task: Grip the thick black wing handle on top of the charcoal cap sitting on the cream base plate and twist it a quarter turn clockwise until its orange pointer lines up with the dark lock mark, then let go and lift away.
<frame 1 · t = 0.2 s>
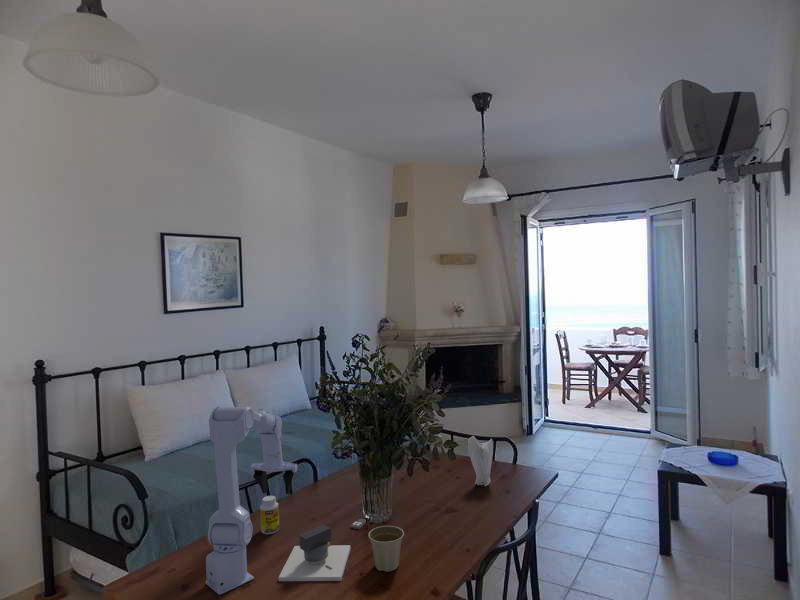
hand: (276, 492, 162), 10 cm above the table, tool pointing down, fingers open, 7 cm apart
flower pot: (387, 566, 135), on the table
supplement bottle: (270, 531, 158), on the table
bayonet cap: (316, 543, 138), point 6 cm above the table, hinge at 0.0°
post base: (316, 564, 138), on the table
shell sculpture: (482, 484, 189), on the table
key chain: (365, 522, 163), on the table
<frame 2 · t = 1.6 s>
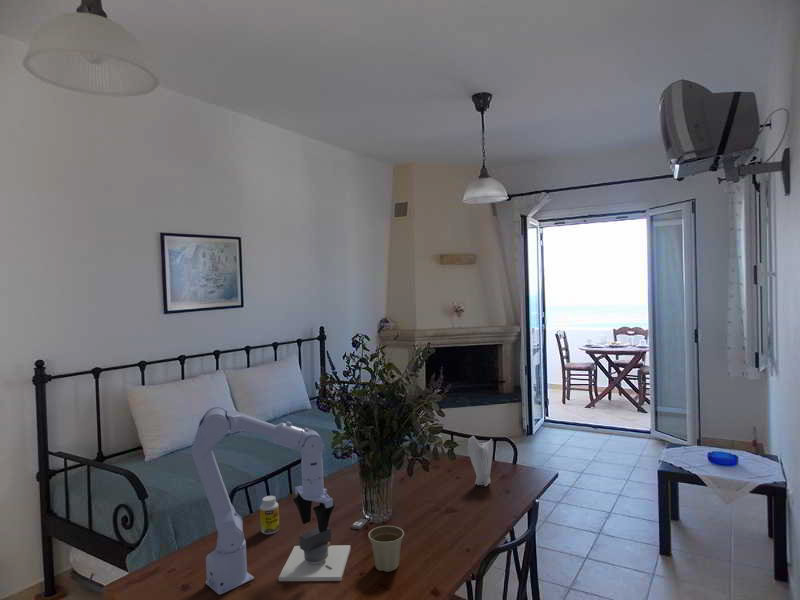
hand: (314, 526, 138), 10 cm above the table, tool pointing down, fingers open, 7 cm apart
nothing on the table moved.
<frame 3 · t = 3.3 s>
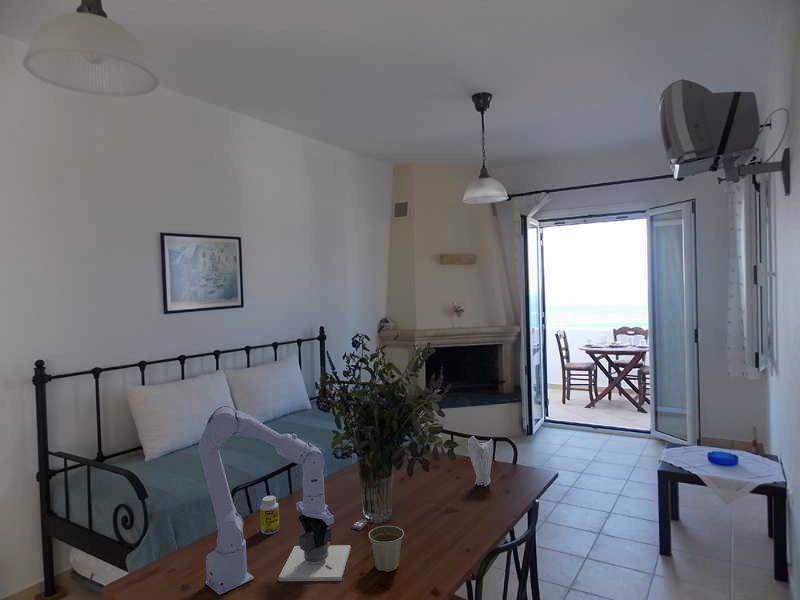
hand: (315, 543, 137), 6 cm above the table, tool pointing down, fingers closed on bayonet cap, 3 cm apart
bayonet cap: (316, 543, 138), point 6 cm above the table, hinge at 0.0°, touching gripper
everything else where it was.
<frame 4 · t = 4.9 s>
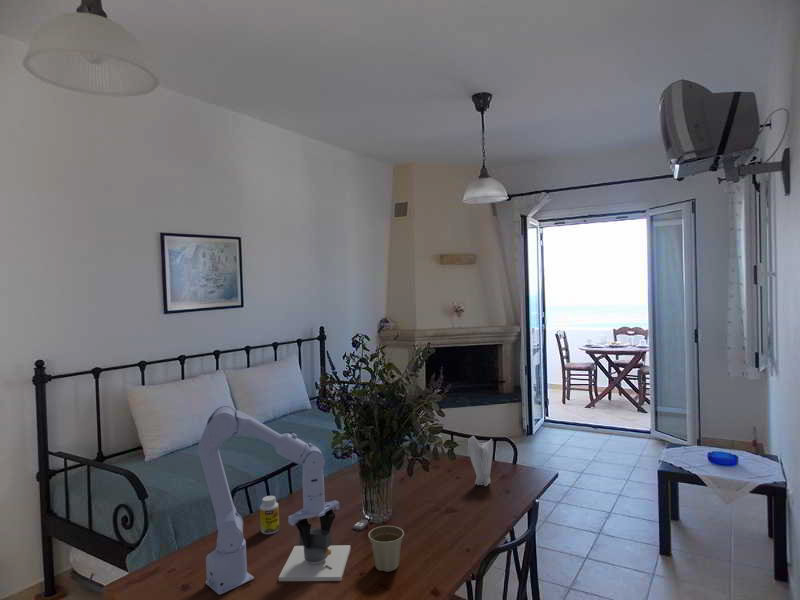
hand: (315, 542, 137), 6 cm above the table, tool pointing down, fingers closed on bayonet cap, 5 cm apart
bayonet cap: (316, 543, 137), point 6 cm above the table, hinge at -65.5°, touching gripper
everything else where it was.
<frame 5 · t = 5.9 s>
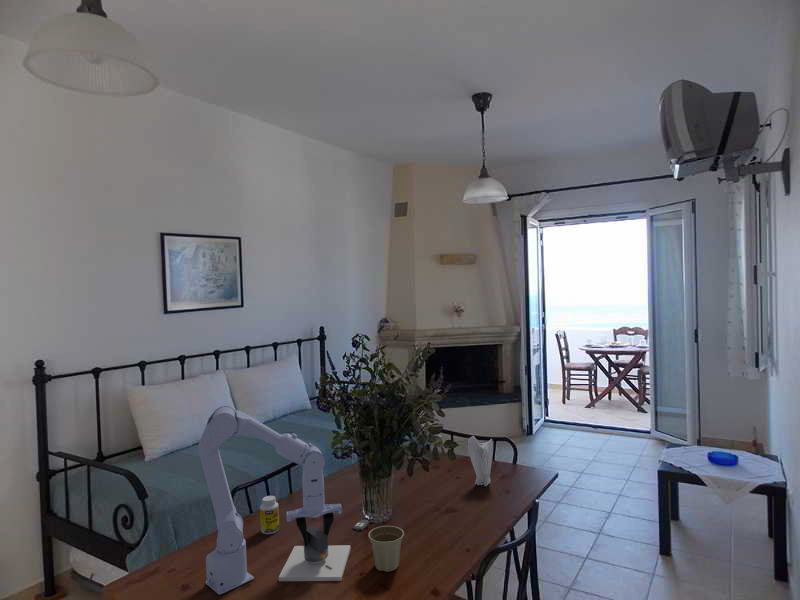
hand: (315, 543, 138), 6 cm above the table, tool pointing down, fingers closed on bayonet cap, 4 cm apart
bayonet cap: (316, 543, 137), point 6 cm above the table, hinge at -97.4°, touching gripper
everything else where it was.
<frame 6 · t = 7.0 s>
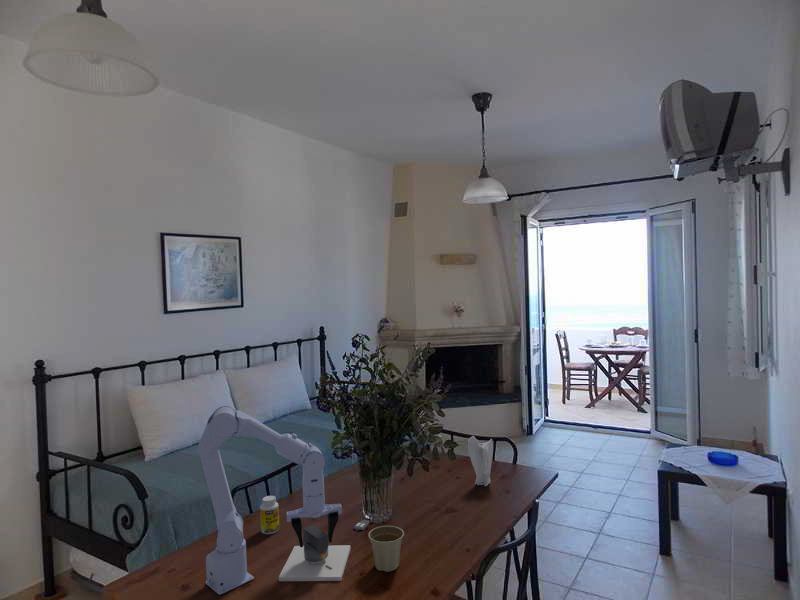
hand: (315, 543, 137), 6 cm above the table, tool pointing down, fingers open, 7 cm apart
bayonet cap: (316, 543, 137), point 6 cm above the table, hinge at -96.9°
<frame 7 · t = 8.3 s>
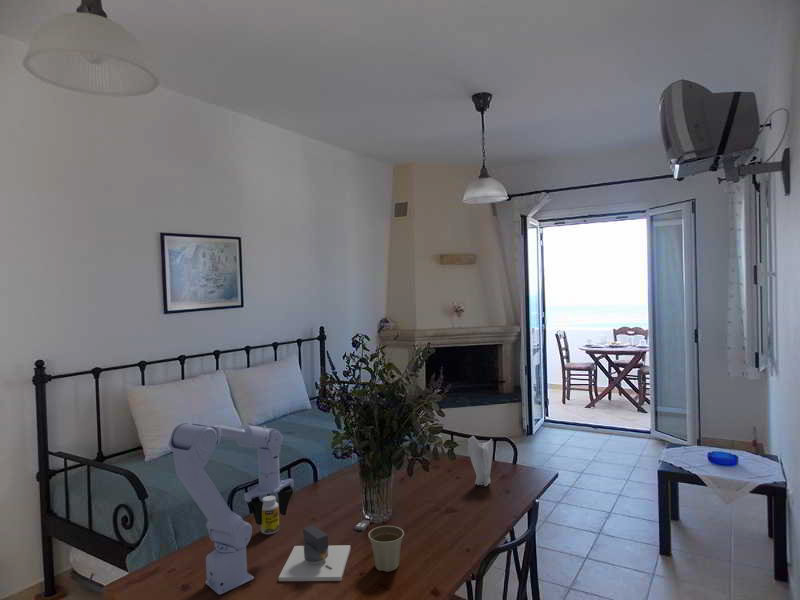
hand: (271, 518, 144), 10 cm above the table, tool pointing down, fingers open, 7 cm apart
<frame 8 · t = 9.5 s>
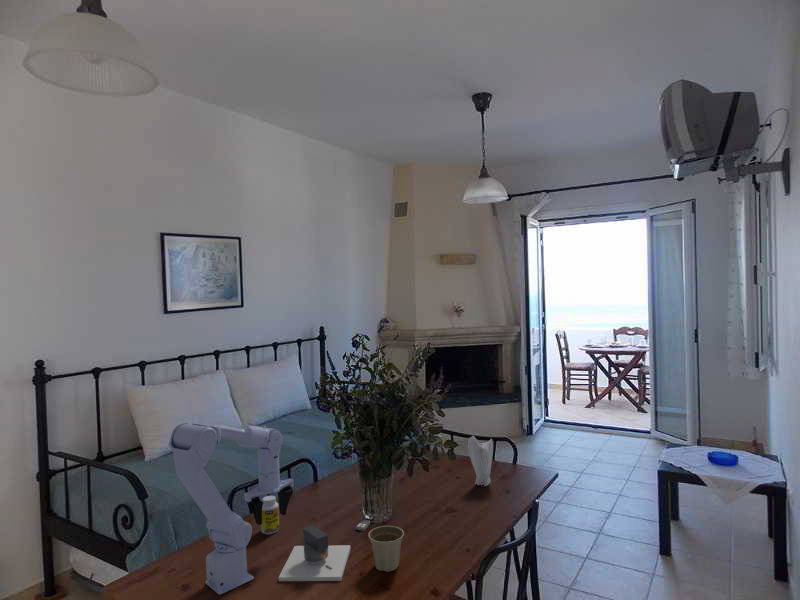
hand: (271, 518, 144), 10 cm above the table, tool pointing down, fingers open, 7 cm apart
at the end: bayonet cap at -97° (first picture: +0°); the gripper is holding nothing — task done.
